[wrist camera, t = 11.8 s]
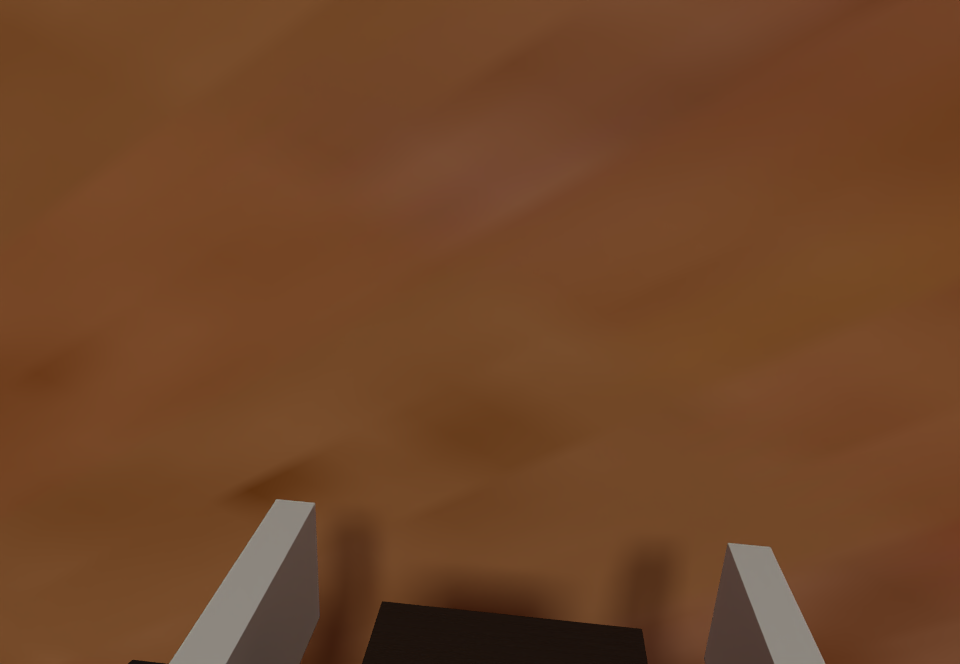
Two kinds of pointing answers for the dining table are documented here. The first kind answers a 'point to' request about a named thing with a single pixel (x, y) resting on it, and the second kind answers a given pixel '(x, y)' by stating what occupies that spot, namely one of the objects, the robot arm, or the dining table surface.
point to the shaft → (494, 639)
